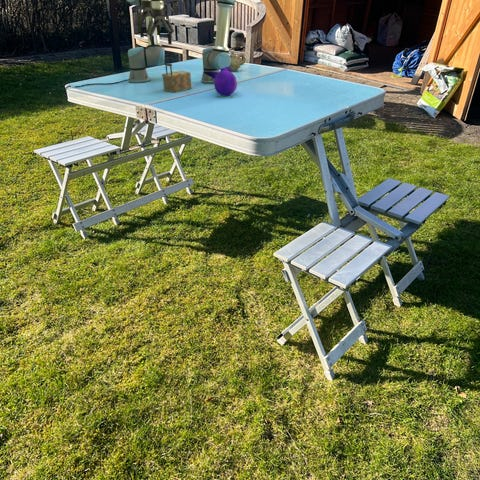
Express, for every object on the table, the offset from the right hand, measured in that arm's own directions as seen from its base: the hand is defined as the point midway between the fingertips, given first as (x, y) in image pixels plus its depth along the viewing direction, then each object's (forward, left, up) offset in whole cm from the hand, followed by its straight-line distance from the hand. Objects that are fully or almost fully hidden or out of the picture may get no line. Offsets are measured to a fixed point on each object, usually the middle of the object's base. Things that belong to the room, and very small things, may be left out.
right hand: (161, 45), depth 290 cm
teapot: (-86, -15, -29) cm, 91 cm away
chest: (-10, +1, -29) cm, 31 cm away
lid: (-10, +1, -20) cm, 22 cm away
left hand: (-3, -14, +4) cm, 15 cm away
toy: (-19, +35, -29) cm, 49 cm away
